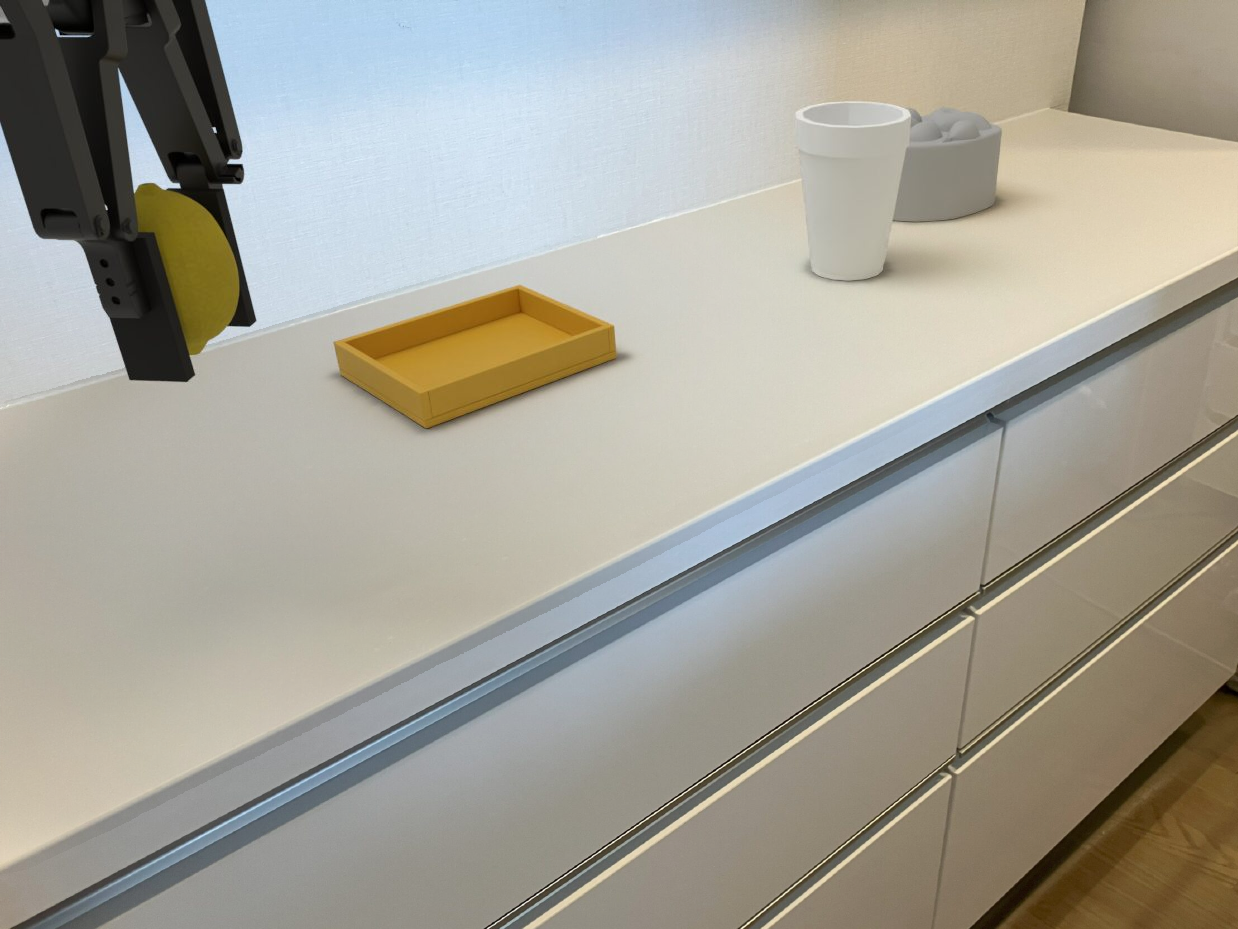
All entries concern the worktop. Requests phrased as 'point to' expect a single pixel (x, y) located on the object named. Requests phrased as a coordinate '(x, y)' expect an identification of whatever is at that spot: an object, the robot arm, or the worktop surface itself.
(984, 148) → the lumpy-topped squat cylinder
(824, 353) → the worktop surface
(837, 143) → the foam cup
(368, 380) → the yellow tray
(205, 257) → the lemon
